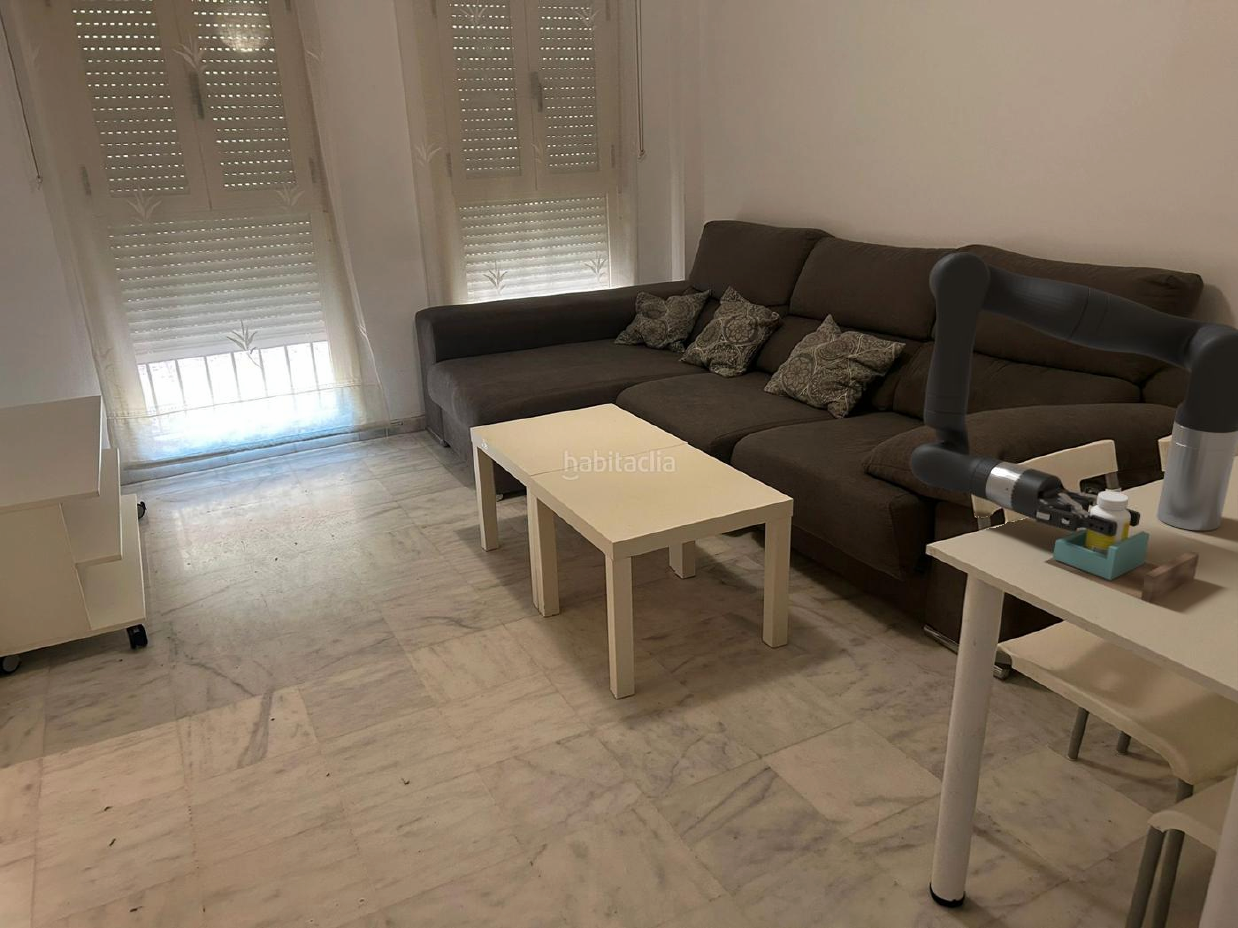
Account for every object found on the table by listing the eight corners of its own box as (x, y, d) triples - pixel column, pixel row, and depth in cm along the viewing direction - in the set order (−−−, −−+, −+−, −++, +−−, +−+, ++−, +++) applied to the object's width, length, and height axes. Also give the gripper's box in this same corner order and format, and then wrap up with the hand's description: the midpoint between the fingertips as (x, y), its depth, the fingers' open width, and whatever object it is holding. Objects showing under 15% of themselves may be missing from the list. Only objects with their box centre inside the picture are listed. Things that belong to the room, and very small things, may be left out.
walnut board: (1087, 550, 144) (1092, 518, 142) (1192, 587, 131) (1199, 553, 129) (1042, 570, 138) (1047, 537, 136) (1147, 612, 125) (1154, 576, 123)
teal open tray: (1086, 543, 142) (1091, 514, 140) (1143, 563, 135) (1149, 533, 133) (1053, 558, 137) (1057, 528, 136) (1110, 580, 130) (1115, 549, 129)
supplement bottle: (1111, 547, 138) (1121, 488, 134) (1131, 563, 133) (1142, 502, 129) (1076, 548, 138) (1086, 489, 134) (1095, 564, 133) (1105, 504, 129)
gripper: (998, 478, 140) (1103, 513, 126) (1053, 459, 147) (1158, 490, 133) (992, 522, 142) (1095, 561, 129) (1046, 501, 149) (1149, 535, 136)
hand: (1126, 524), depth 131 cm, fingers closed on supplement bottle, 5 cm apart
